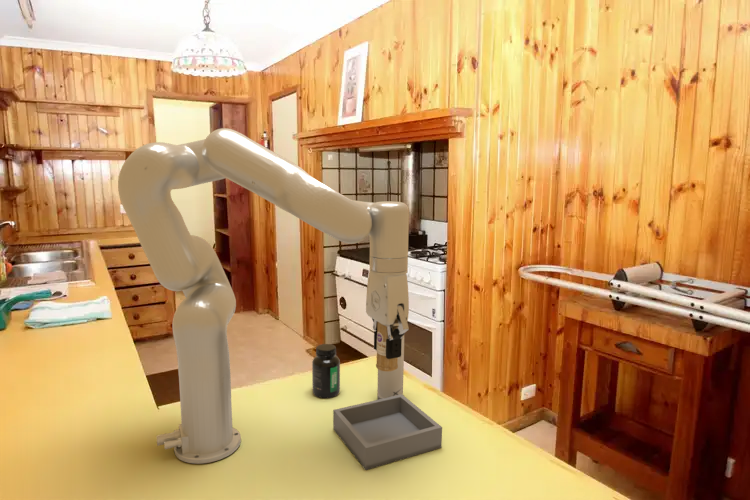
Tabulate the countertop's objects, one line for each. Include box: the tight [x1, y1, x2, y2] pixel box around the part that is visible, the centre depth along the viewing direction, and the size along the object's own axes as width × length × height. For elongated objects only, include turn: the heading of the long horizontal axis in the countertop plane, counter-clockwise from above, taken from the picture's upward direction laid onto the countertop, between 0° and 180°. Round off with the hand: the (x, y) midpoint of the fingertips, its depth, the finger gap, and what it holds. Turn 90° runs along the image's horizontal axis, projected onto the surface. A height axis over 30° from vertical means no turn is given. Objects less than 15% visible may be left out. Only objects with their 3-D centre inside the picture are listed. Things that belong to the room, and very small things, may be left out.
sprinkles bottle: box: [375, 320, 398, 372], centre depth 97 cm, size 5×5×14 cm
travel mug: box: [377, 334, 405, 400], centre depth 116 cm, size 6×7×20 cm
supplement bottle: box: [311, 343, 341, 399], centre depth 120 cm, size 7×7×12 cm
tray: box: [332, 394, 443, 471], centre depth 100 cm, size 17×16×4 cm
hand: (387, 352), depth 97 cm, fingers closed on sprinkles bottle, 4 cm apart
